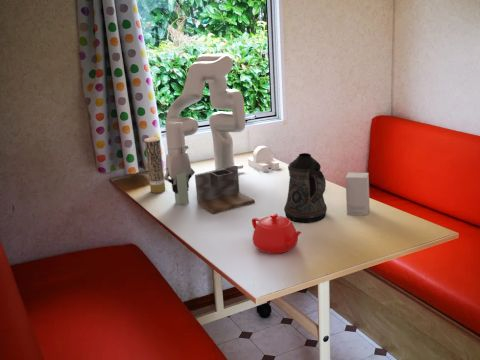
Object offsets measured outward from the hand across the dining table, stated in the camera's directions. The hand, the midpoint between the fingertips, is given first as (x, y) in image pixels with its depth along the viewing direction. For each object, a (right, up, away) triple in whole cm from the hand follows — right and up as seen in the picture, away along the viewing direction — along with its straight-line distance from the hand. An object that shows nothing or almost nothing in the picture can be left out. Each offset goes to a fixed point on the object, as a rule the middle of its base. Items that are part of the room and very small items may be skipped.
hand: (181, 191), depth 240 cm
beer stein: (+52, -10, -23) cm, 58 cm away
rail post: (0, -5, +2) cm, 5 cm away
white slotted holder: (+38, +11, +46) cm, 61 cm away
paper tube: (-13, -1, +19) cm, 23 cm away
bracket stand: (+20, -5, -3) cm, 21 cm away
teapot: (+38, -19, -48) cm, 65 cm away
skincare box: (+72, -8, -22) cm, 75 cm away
